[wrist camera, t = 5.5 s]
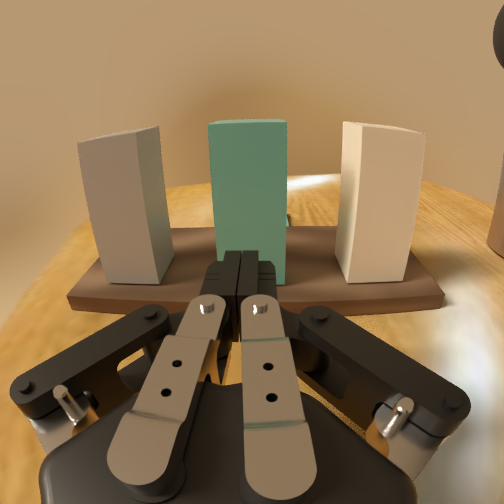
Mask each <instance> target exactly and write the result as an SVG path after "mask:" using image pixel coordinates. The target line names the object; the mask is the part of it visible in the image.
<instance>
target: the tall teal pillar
mask: <svg viewBox="0 0 504 504" xmlns="http://www.w3.org/2000/svg"><path fill="white" fill-rule="evenodd" d="M208 139H209V154H210V155H209V156H210V172H211V186H212V200H213V213H214V225H215V237H216V249H217V260H218V261H223V259H224V254H225V251H226V250H241V251H243V250H258V251H259V261H271V262H272V263H273V265H274V266H275V270H276V285H284V284H285V256H286V211H287V122H286V121H284V120H282V119H249V120H248V119H247V120H223V121H216V122H214V123H211V124H208Z"/></svg>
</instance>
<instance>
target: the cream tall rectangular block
mask: <svg viewBox="0 0 504 504" xmlns="http://www.w3.org/2000/svg"><path fill="white" fill-rule="evenodd" d="M425 141H426V134H424V133H420V132H416V131H412V130H408V129H404V128H400V127H393V126H385V125H376V124H367V123H356V122H343V145H342V168H341V185H340V200H339V212H338V224H337V235H336V245H335V256H336V258H337V260H338V263H339V265H340V267H341V270H342V272H343V274H344V277H345V279H346V281H347V283H364V282H389V281H403V277H404V273H405V269H406V265H407V260H408V256H409V251H410V247H411V242H412V237H413V232H414V226H415V221H416V215H417V209H418V203H419V196H420V189H421V182H422V173H423V164H424V154H425Z"/></svg>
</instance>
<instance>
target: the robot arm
mask: <svg viewBox="0 0 504 504" xmlns="http://www.w3.org/2000/svg"><path fill="white" fill-rule="evenodd" d="M493 45H494V51H495V54H496V57H497V59H498V61H499V63H500V64H501V66H502V67H503V68H504V5H503V7H502V8H501V10H500V12H499V14H498V16H497V19H496V21H495V25H494V31H493ZM487 243H488V245H489V246H490V247H491V248H492V249H493V250H494V251H495V252H496V253H498V254H499V255H501V256H502V257H504V155H503V164H502V171H501V177H500V183H499V189H498V194H497V200H496V205H495V209H494V214H493V218H492V222H491V226H490V230H489V234H488V238H487ZM239 333H240V342H241V351H242V383H238V384H232V385H225V381H226V377H227V372H228V368H229V363H230V358H231V352H230V351H231V347H232V342H238V341H239ZM141 348H142V349H143V352H144V355H143V356H141V357H140V358H138V359H137V360H135V361H134V362H132V363H130V364H129V365H127V366H126V367H124V368H123V369H121V370H119V371H118V372H117V367H118V364H119V363H120V362H121V361H122V360H124V359H125V358H127V357H128V356H130V355H132V354H133V353H135V352H136V351H138V350H140V349H141ZM297 376H298V377H299V378H300V379H301V380H302V381H304V382H305V383H306V384H307V385H308V386H310V387H311V388H312V389H313V390H315V391H316V392H317V393H318V394H319V395H321V396H322V397H323V398H324V399H326V400H327V401H328V402H329V403H331V404H332V405H333V406H334V407H336V408H337V409H338V410H339V411H341V412H342V413H343V414H344V415H346V416H347V417H348V418H350V419H351V420H352V421H353V422H355V423H356V424H357V425H359V426H360V427H361V428H363V429H364V430H365V431H366V441H365V440H364V439H363V438H362V437H360V436H359V435H358V434H357V433H356V432H354V431H353V430H352V429H351V428H350V427H348V426H347V425H346V424H345V423H344V422H343V421H341V420H340V419H339V418H338V417H337V416H336V415H334V414H333V413H332V412H331V411H330V410H329V409H328V408H326V407H325V406H324V405H323V404H322V403H321V402H319V401H318V400H316V399H315V398H314V397H312V396H310V395H308V394H306V393H303V392H301V391H299V386H298V381H297ZM10 397H11V399H12V400H13V401H14V403H15V404H16V405H17V406H18V407H19V409H20V410H21V411H22V413H23V414H24V416H25V417H26V418H27V419H28V420H29V421H30V423H31V424H32V426H33V428H34V430H35V432H36V435H37V437H38V439H39V441H40V443H41V445H42V447H43V449H44V451H45V453H46V455H47V456H46V457H45V459H44V460H43V462H42V464H41V467H40V471H39V488H40V494H41V504H417V492H416V489H415V486H414V484H413V482H412V481H413V480H414V479H415V478H416V476H417V475H418V474H419V473H420V471H421V470H422V469H423V467H424V466H425V465H426V464H427V462H428V461H429V459H430V458H431V457H432V455H433V454H434V453H435V452H436V451H437V450H438V448H439V447H440V446H441V445H442V444H443V443H444V442H445V441H446V440H447V439H448V438H449V437H450V436H451V434H452V433H453V432H454V431H455V430H456V429H457V428H458V426H459V425H460V424H461V423H462V422H463V421H464V419H465V418H466V417H467V416H468V414H469V412H470V408H471V403H470V399H469V397H468V395H467V394H466V393H465V392H464V391H463V390H462V389H460V388H459V387H457V386H455V385H454V384H452V383H451V382H449V381H447V380H446V379H444V378H442V377H441V376H439V375H437V374H436V373H434V372H433V371H431V370H429V369H428V368H426V367H424V366H423V365H421V364H420V363H418V362H416V361H415V360H413V359H411V358H410V357H408V356H407V355H405V354H403V353H402V352H400V351H399V350H397V349H395V348H394V347H392V346H390V345H389V344H387V343H386V342H384V341H382V340H381V339H379V338H378V337H376V336H374V335H373V334H371V333H369V332H368V331H366V330H365V329H363V328H361V327H360V326H358V325H357V324H355V323H353V322H352V321H350V320H349V319H347V318H345V317H344V316H342V315H340V314H339V313H337V312H336V311H334V310H332V309H331V308H328V307H325V306H318V305H317V306H310V307H307V308H305V309H304V310H303V311H302V312H301V313H300V314H298V313H293V312H290V311H287V310H285V309H284V308H282V307H281V306H280V305H279V303H278V299H277V285H276V270H275V266H274V265H273V263H272V262H271V261H259V251H258V250H243V251H241V250H226V251H225V254H224V259H223V261H214V262H213V263H211V264H210V265H209V266H208V268H207V271H206V275H205V277H204V281H203V284H202V287H201V291H200V294H199V296H198V297H196V298H194V299H193V300H192V301H191V302H190V303H189V305H188V308H187V310H185V311H182V312H177V313H171V314H168V311H167V309H166V308H165V307H164V306H162V305H158V304H149V305H145V306H142V307H140V308H139V309H137V310H135V311H133V312H131V313H130V314H128V315H126V316H124V317H122V318H121V319H119V320H117V321H115V322H114V323H112V324H110V325H108V326H106V327H105V328H103V329H101V330H99V331H98V332H96V333H94V334H92V335H90V336H89V337H87V338H85V339H83V340H82V341H80V342H78V343H76V344H74V345H73V346H71V347H69V348H67V349H66V350H64V351H62V352H60V353H59V354H57V355H55V356H53V357H51V358H50V359H48V360H46V361H44V362H43V363H41V364H39V365H37V366H36V367H34V368H32V369H30V370H29V371H27V372H25V373H23V374H22V375H20V376H18V377H17V378H16V379H15V380H14V381H13V383H12V384H11V387H10Z"/></svg>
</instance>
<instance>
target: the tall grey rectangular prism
mask: <svg viewBox="0 0 504 504" xmlns="http://www.w3.org/2000/svg"><path fill="white" fill-rule="evenodd" d="M77 145H78V153H79V160H80V167H81V173H82V179H83V185H84V190H85V196H86V200H87V206H88V210H89V215H90V220H91V224H92V229H93V233H94V237H95V241H96V245H97V249H98V253H99V257H100V260H101V264H102V268H103V271H104V274H105V278H106V281H107V283H131V284H160V282H161V280H162V278H163V276H164V274H165V272H166V270H167V268H168V266H169V264H170V262H171V260H172V259H173V257H174V250H173V243H172V237H171V230H170V223H169V216H168V208H167V200H166V192H165V184H164V175H163V165H162V156H161V145H160V133H159V126H156V127H149V128H142V129H135V130H128V131H123V132H116V133H110V134H106V135H102V136H99V137H95V138H92V139H88V140H85V141H82V142H78V143H77Z"/></svg>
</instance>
